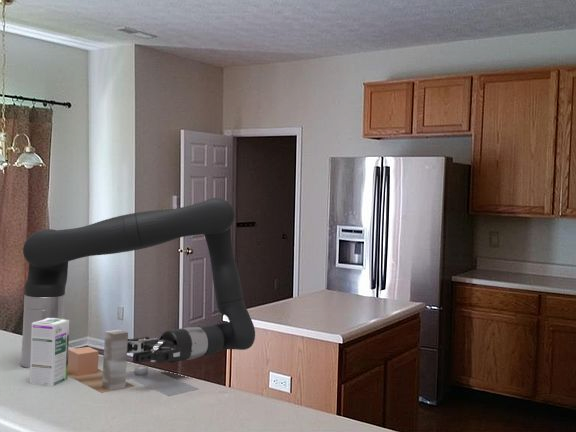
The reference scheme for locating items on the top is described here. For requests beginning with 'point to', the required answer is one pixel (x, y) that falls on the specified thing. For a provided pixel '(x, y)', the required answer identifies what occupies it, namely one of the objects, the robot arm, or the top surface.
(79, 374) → the terracotta block
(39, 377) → the syrup box
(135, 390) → the top surface
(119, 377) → the base with upright panel
